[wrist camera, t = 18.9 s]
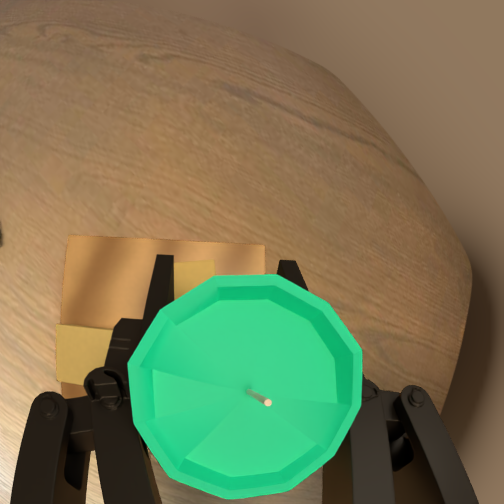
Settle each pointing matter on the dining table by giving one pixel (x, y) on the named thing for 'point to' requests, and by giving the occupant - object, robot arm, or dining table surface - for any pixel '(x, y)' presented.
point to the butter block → (80, 351)
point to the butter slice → (191, 275)
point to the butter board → (133, 277)
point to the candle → (245, 385)
